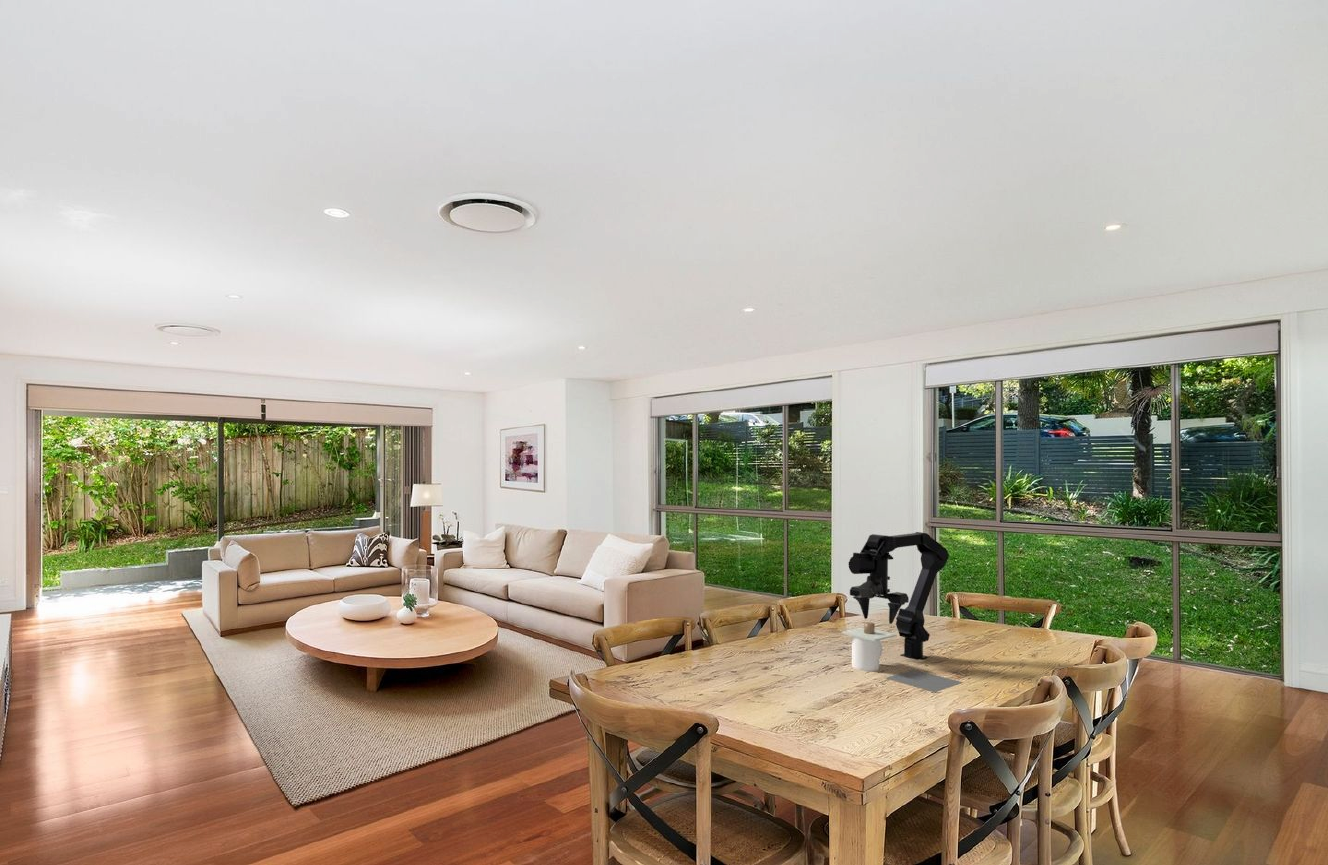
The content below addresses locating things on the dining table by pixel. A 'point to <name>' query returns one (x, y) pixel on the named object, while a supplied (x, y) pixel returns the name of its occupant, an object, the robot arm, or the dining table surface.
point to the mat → (924, 680)
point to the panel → (869, 633)
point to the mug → (866, 654)
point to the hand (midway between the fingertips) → (878, 621)
